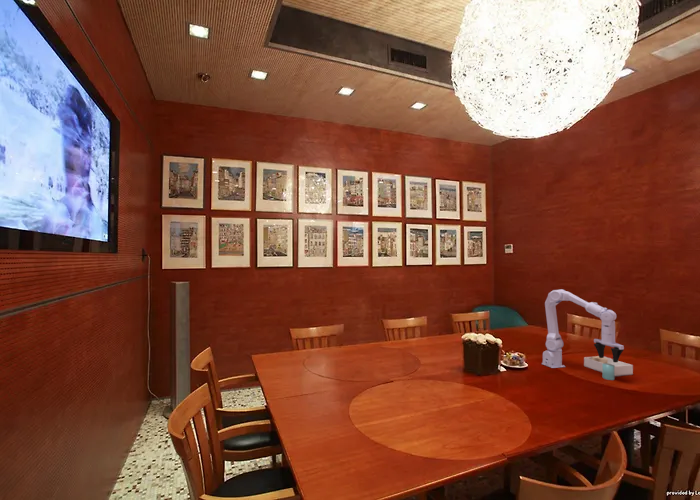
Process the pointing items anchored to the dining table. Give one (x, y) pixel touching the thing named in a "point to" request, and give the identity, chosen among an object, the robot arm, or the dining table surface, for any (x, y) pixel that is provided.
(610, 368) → the teal cylinder
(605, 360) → the beech cube
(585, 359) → the tote
